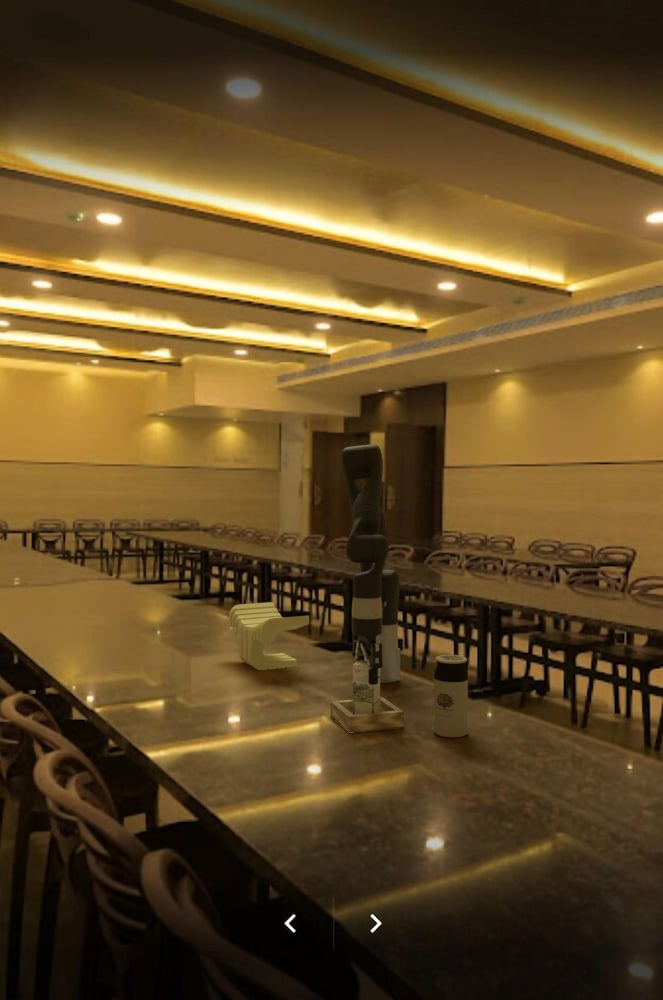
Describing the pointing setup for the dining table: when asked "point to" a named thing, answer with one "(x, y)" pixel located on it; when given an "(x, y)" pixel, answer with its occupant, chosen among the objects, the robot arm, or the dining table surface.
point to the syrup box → (364, 690)
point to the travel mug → (450, 696)
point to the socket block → (367, 717)
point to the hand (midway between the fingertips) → (366, 680)
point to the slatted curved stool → (262, 633)
